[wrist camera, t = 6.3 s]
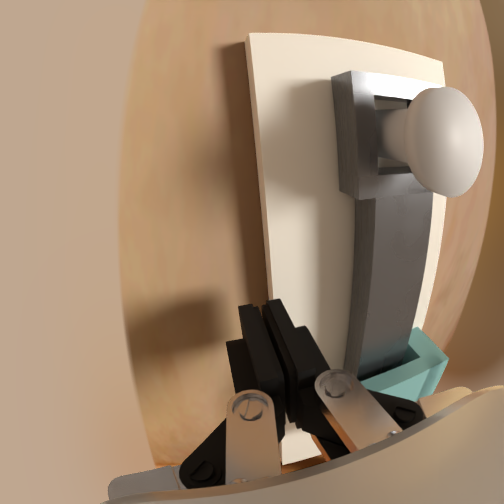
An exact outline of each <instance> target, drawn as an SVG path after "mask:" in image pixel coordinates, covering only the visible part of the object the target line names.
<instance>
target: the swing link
mask: <svg viewBox="0 0 504 504" xmlns="http://www.w3.org/2000/svg"><path fill="white" fill-rule="evenodd" d="M331 84H332V93H333V102H334V113H335V124H336V137H337V152H338V171H339V191H340V192H342V193H345V194H347V195H349V196H351V197H354V198H355V236H354V263H353V280H352V294H351V306H350V317H349V327H348V336H347V344H346V352H345V360H344V367H343V370H346V371H348V372H350V373H352V374H353V375H354V376H355V377H356V378H357V379H358V380H359V381H360V382H361V381H364V380H366V379H369V378H372V377H374V376H377V375H380V374H382V373H385V372H387V371H390V370H392V369H395V368H397V367H399V366H401V365H402V362H403V359H404V356H405V352H406V349H407V345H408V342H409V338H410V335H411V331H412V327H413V323H414V319H415V315H416V311H417V306H418V302H419V297H420V292H421V287H422V282H423V277H424V271H425V265H426V259H427V252H428V245H429V237H430V228H431V218H432V206H433V192H431V191H429V190H427V189H426V188H424V187H423V186H422V185H421V184H420V183H419V182H418V181H417V179H416V178H415V177H414V175H413V173H412V171H411V169H410V167H409V166H405V167H383V168H378V151H377V130H376V116H375V104H374V99H375V100H386V101H396V102H405V103H407V109H408V107H409V105H410V103H411V101H412V100H413V98H414V97H415V96H416V95H417V94H418V93H419V92H420V91H422V90H424V89H426V88H431V87H442V86H440V85H436V84H432V83H428V82H423V81H418V80H413V79H408V78H403V77H397V76H391V75H385V74H378V73H370V72H361V71H351V70H350V71H347V72H344V73H341V74H338V75H335V76H332V77H331Z"/></svg>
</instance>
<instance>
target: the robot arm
mask: <svg viewBox="0 0 504 504" xmlns="http://www.w3.org/2000/svg"><path fill="white" fill-rule="evenodd" d="M238 309H239V316H240V322H241V329H242V335H243V339H238V340H232V341H227V342H226V346H227V352H228V357H229V362H230V367H231V373H232V378H233V383H234V388H235V393H236V394H235V395H234V396H233V397H232V398H231V399H230V401H229V402H228V405H227V417H226V418H225V420H224V421H223V422H222V423H221V424H220V425H219V426H218V427H217V428H216V429H215V430H214V431H213V432H212V433H211V434H210V435H209V436H208V437H207V438H206V440H205V441H204V442H203V443H202V444H201V445H200V446H199V447H198V448H197V449H196V450H195V451H194V452H193V453H192V454H191V455H190V456H189V457H188V458H186V459H185V460H184V462H183V463H182V464H181V465H178V466H175V467H171V466H170V465H169V466H166V467H162V468H157V469H154V470H149V471H144V472H140V473H135V474H130V475H124V476H120V477H117V478H115V479H114V480H112V481H111V483H110V484H109V487H108V496H109V500H108V501H105V502H103V503H101V504H504V386H502V385H500V386H493V387H488V388H484V389H481V390H478V391H475V392H472V391H471V390H469V389H468V388H465V387H456V388H453V389H450V390H446V391H443V392H440V393H436V394H433V395H429V396H425V397H422V398H419V399H418V401H415V402H414V401H411V400H409V399H405V398H400V397H396V396H392V395H388V394H384V393H380V392H377V391H373V390H369V389H366V388H365V387H364V386H363V385H362V384H361V383H360V381H359V380H358V379H357V378H356V377H355V376H354V375H353V374H352V373H350V372H348V371H346V370H342V369H330V367H329V365H328V363H327V361H326V360H325V358H324V356H323V354H322V353H321V351H320V349H319V347H318V345H317V344H316V342H315V340H314V338H313V337H312V335H311V333H310V331H309V330H308V328H307V327H306V326H305V325H304V326H300V327H295V326H294V324H293V322H292V320H291V319H290V317H289V315H288V313H287V311H286V309H285V307H284V305H283V303H282V301H281V299H280V298H278V299H273V300H268V301H266V305H262V316H261V313H260V311H259V308H258V306H256V307H253V305H252V304H247V305H242V306H238ZM262 317H263V318H262ZM286 415H287V418H288V420H289V423H294V422H295V425H296V428H297V429H300V428H302V431H304V432H307V433H310V435H311V438H312V440H313V441H314V443H315V444H316V446H317V448H318V449H319V451H320V452H321V454H322V455H323V457H324V458H325V460H326V462H324V463H321V464H318V465H315V466H312V467H308V468H305V469H301V470H297V471H294V472H290V473H286V474H282V473H281V465H280V456H279V447H278V444H279V443H280V442H281V440H282V439H283V438H284V436H285V425H286Z"/></svg>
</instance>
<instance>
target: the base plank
mask: <svg viewBox="0 0 504 504" xmlns="http://www.w3.org/2000/svg"><path fill="white" fill-rule="evenodd" d="M244 42H245V51H246V60H247V69H248V78H249V88H250V98H251V107H252V117H253V127H254V137H255V148H256V158H257V169H258V179H259V190H260V201H261V212H262V224H263V235H264V247H265V259H266V271H267V283H268V296H269V300H273V299H278V298H280V299H281V301H282V303H283V305H284V307H285V309H286V311H287V313H288V315H289V317H290V319H291V320H292V322H293V324H294V326H295V327H300V326H304V325H305V326H306V327H307V328H308V330H309V331H310V333H311V335H312V337H313V338H314V340H315V342H316V344H317V345H318V347H319V349H320V351H321V353H322V354H323V356H324V358H325V360H326V361H327V363H328V365H329V367H330V369H342V370H343V367H344V360H345V352H346V344H347V336H348V327H349V317H350V306H351V294H352V280H353V263H354V236H355V198H354V197H351V196H349V195H347V194H345V193H342V192H340V191H339V171H338V152H337V137H336V124H335V113H334V102H333V93H332V84H331V77H332V76H335V75H338V74H341V73H344V72H347V71H350V70H351V71H361V72H370V73H378V74H385V75H391V76H397V77H403V78H408V79H413V80H418V81H423V82H428V83H432V84H436V85H440V86H442V87H431V88H426V89H424V90H422V91H420V92H419V93H418V94H417V95H416V96H415V97H414V98H413V100H412V101H411V103H410V105H409V107H408V109H407V103H405V102H396V101H386V100H375V99H374V104H375V116H376V130H377V151H378V168H383V167H405V166H409V167H410V169H411V171H412V173H413V175H414V177H415V178H416V179H417V181H418V182H419V183H420V184H421V185H422V186H423V187H424V188H426V189H427V190H429V191H431V192H433V206H432V218H431V228H430V237H429V245H428V252H427V259H426V265H425V271H424V277H423V282H422V287H421V292H420V297H419V302H418V306H417V311H416V315H415V319H414V323H413V327H412V329H413V328H415V327H419V328H420V329H421V330H422V327H423V324H424V320H425V316H426V313H427V309H428V305H429V301H430V297H431V293H432V288H433V284H434V279H435V274H436V269H437V264H438V258H439V253H440V246H441V240H442V233H443V225H444V217H445V207H446V197H458V196H460V195H462V194H463V193H465V192H466V191H467V190H468V189H469V188H470V187H471V186H472V184H473V183H474V181H475V180H476V178H477V176H478V173H479V171H480V167H481V163H482V158H483V133H482V127H481V124H480V120H479V117H478V115H477V112H476V110H475V108H474V107H473V105H472V103H471V102H470V101H469V99H468V98H467V97H466V96H465V95H464V94H463V93H462V92H460V91H459V90H457V89H455V88H452V87H445V79H444V71H443V64H442V62H440V61H438V60H434V59H431V58H428V57H425V56H422V55H418V54H415V53H411V52H407V51H404V50H400V49H396V48H391V47H387V46H383V45H378V44H373V43H368V42H362V41H356V40H350V39H343V38H336V37H328V36H318V35H306V34H289V33H249V34H248V36H247V38H246V39H245V41H244ZM279 453H280V459H281V462H282V465H285V464H289V463H293V462H297V461H300V460H304V459H307V458H311V457H314V456H318V455H321V452H320V451H319V449H318V448H317V446H316V444H315V443H314V441H313V440H312V438H311V435H310V433H307V432H304V431H302V428H300V429H297V428H296V425H295V422H294V423H289V420H288V418H287V415H286V425H285V436H284V438H283V439H282V440H281V442H280V443H279Z"/></svg>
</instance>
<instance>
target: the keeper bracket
mask: <svg viewBox="0 0 504 504" xmlns="http://www.w3.org/2000/svg"><path fill="white" fill-rule="evenodd" d="M448 360H449V358H448V357H447V356H446V355H445V354H444V353H443V352H442V351H441V350H440V349H439V348H438V347H437V346H436V345H435V344H434V343H433V342H432V341H431V340H430V338H429V337H428V336H427V335H426V334H425V333H424V332H423V331H422V330H421V329H420V328H419V327H415V328H413V329H412V331H411V335H410V338H409V342H408V345H407V349H406V352H405V356H404V359H403V362H402V365H401V366H399V367H397V368H395V369H392V370H390V371H387V372H385V373H382V374H380V375H377V376H374V377H372V378H369V379H366V380H364V381H361V382H360V383H361V384H362V385H363V386H364V387H365V388H366V389H369V390H373V391H377V392H380V393H384V394H388V395H392V396H396V397H400V398H405V399H409V400H411V401H414V402H415V401H418V399H419V398H422V397H425V396H429V395H432V394H433V392H434V390H435V388H436V386H437V384H438V382H439V380H440V378H441V375H442V373H443V371H444V369H445V366H446V365H447V362H448Z"/></svg>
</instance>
